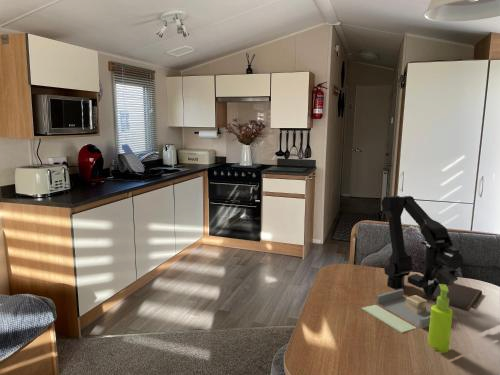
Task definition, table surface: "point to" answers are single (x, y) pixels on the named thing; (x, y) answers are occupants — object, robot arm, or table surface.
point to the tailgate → (389, 318)
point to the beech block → (416, 304)
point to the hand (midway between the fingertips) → (428, 298)
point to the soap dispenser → (440, 322)
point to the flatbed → (403, 308)
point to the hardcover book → (459, 296)
